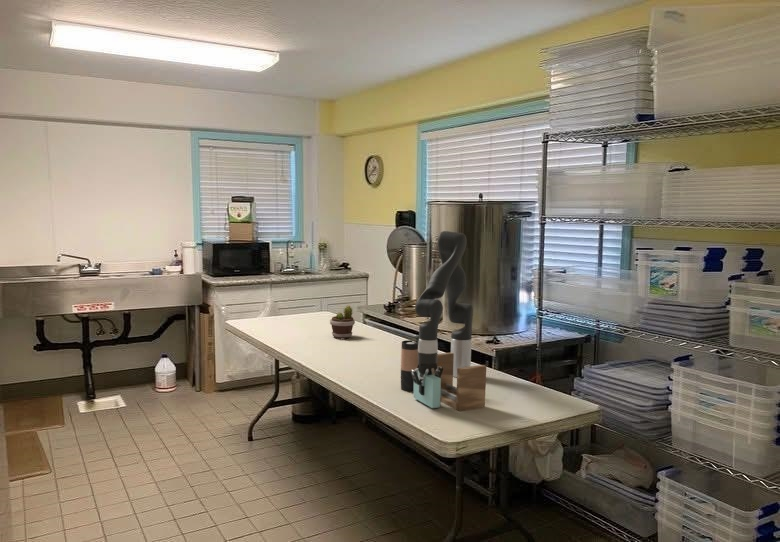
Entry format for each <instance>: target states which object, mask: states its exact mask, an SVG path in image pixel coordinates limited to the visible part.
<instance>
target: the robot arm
mask: <svg viewBox="0 0 780 542" xmlns="http://www.w3.org/2000/svg"><path fill="white" fill-rule="evenodd" d="M467 242H468V241H467V236H466V235H465V234H464V233H462V232H456V231H449V230H447V231H446V230H443V231H441V232H440V233H439V234H438V236H437V249H438V254H439V257H440V261H441V265H440V266H438V268H436V269H435V271H433V273H432V274H431V277H430V278H429V282H428V284H427V286H426V288H425V289H424V291H423V292H422V293H421V295H420V296H419V297H418V299H417V300H416V302H415V305H414V312H415V313H416V315H417V316H419V317H424V318H430V319H429V322H422V323H420V324H419V329H418V366H417V368H416V369H415V370H411V374H412V377H413V380H414V383H415V384H417V385H419V393H420V394H421V395H424V383H425V379H426V376H427V375H435V376H437V377H439V378H440V377H441V375H442V372H443V368H442V367H440V366H437V354H439V352H438V348H439V342H438V329H439V325H440V321H441V318H442V315H443V311H444V306H443V303H442V301H441V300H439V299H441V298H442V297H443V296H444V295H445V292H446V297H447V315H448V319H449V321H450V323H452V324H461V325H462V324H463V325H464V326H463V327H462V328H458V329H456V330H455V329H454V330H452V331H451V334H450V353H454V362H453V378H457V368H463V367H471V362H472V361H471V360H472V334H473V333H472V332H473V329H472V328H473V319H474V318H473V317H474V307H473V305H472V304H471V303H463V302H461V303H460V302H457V300H458V299H459V298H460V296H461V295H462V294H463V293H464V291H465V290H466V288H467V278H466V276H467V275H466V273H465V270H464V269H463V267H462V266H461V265H460V264H459V262H460V260H461V259H462V257H463V255H464V253H465V251H466V247H467ZM418 371H419V373H420V374H419V378H418ZM435 371H436V373H435V374H434V372H435ZM422 376H423V377H422Z"/></svg>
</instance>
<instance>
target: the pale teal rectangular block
mask: <svg viewBox="0 0 780 542" xmlns="http://www.w3.org/2000/svg"><path fill="white" fill-rule="evenodd" d="M419 374H420V373H419V371H418V378H419ZM422 377H423V376H422ZM412 392H413V395H412V397H413V399H415V400H417V401H419V402H420V403H422V404H424V405H425V406H428V407H429V408H431V409H436V408H441V401H440V392H441V378H439V377H437V376H435V375H427V376H426V379H425V383H424V395H421V394H420V393H419V385H417V384H415V383H414V391H412Z"/></svg>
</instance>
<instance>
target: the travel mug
mask: <svg viewBox="0 0 780 542" xmlns="http://www.w3.org/2000/svg"><path fill="white" fill-rule="evenodd" d="M418 342H419V340H417V341H413V340H411V339H410V340H402V341H401V349H400V350H401V352H400V353H401V354H400V389H401V390H402V391H404V392H409V393H411V392H414V380H413V377H412V374H411V370H415V369H416V368H417V366H418Z"/></svg>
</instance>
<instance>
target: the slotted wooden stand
mask: <svg viewBox="0 0 780 542" xmlns="http://www.w3.org/2000/svg"><path fill="white" fill-rule="evenodd" d="M453 362H454V353H451V352H443V353H438V354H437V366H440V367H442V368H443V372H442V375H441V377H440V378H441V392H440V403H443V404H444V405H446V406H448V407H450V408H452V409H454V410H456V411H458V412H463V411H467V410H468V411H469V410H476V409H480V408H485V407H486V390H487V389H486V385H487V366H486V365H485V364H480V365H479V364H478V365H473V366H471V365H470V367H463V368H457V377H456V386H454V385H453V382H454V377H453ZM435 373H436V371H435V372H434V374H435Z"/></svg>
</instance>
